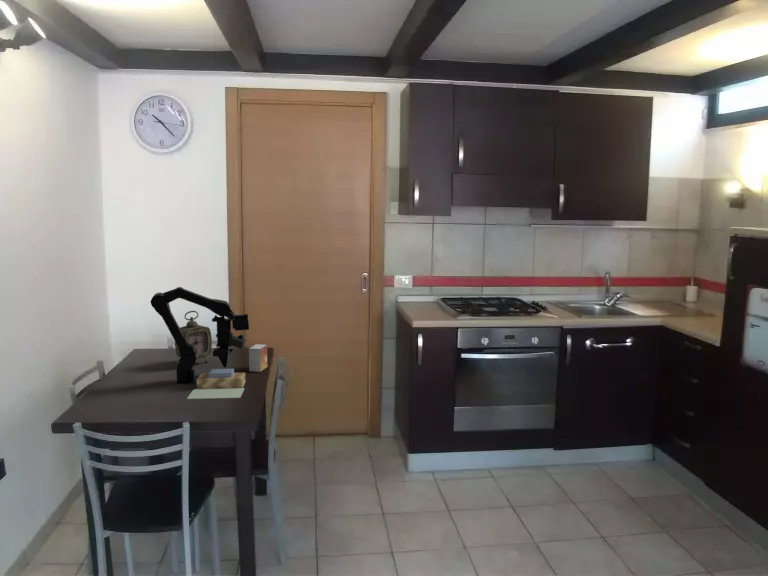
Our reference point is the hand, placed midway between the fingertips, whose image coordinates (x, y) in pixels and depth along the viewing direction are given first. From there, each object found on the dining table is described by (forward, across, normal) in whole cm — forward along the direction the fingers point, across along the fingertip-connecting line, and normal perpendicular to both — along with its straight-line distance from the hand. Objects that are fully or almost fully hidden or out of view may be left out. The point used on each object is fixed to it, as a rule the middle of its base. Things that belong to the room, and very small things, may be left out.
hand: (225, 367), depth 249 cm
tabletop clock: (+5, +23, +19) cm, 30 cm away
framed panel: (+5, -9, 0) cm, 10 cm away
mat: (+5, -20, 0) cm, 20 cm away
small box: (+5, +13, -12) cm, 18 cm away
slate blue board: (+1, -8, 0) cm, 9 cm away
